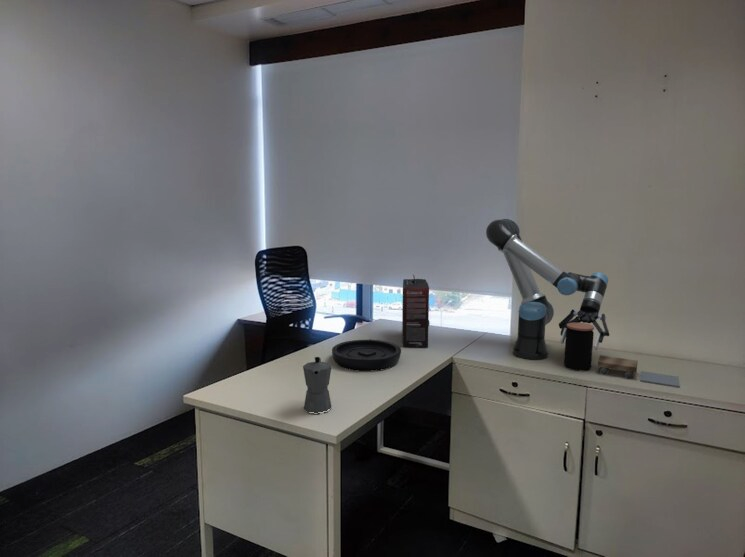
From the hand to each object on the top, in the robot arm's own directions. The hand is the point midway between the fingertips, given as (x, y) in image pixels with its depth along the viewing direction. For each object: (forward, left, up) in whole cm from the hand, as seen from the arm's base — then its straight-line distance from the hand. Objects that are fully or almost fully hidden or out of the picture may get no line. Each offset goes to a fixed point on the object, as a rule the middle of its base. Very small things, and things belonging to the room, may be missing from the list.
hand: (578, 345), depth 204 cm
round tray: (-81, -36, -10) cm, 89 cm away
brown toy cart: (+15, +2, -10) cm, 18 cm away
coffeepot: (-70, -87, -10) cm, 112 cm away
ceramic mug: (-84, +26, -10) cm, 88 cm away
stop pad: (+30, +2, -10) cm, 32 cm away
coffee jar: (0, +2, -10) cm, 10 cm away
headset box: (-76, +3, -10) cm, 77 cm away
